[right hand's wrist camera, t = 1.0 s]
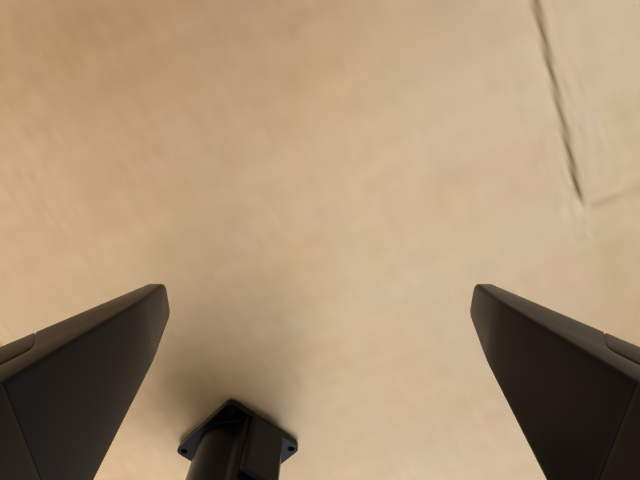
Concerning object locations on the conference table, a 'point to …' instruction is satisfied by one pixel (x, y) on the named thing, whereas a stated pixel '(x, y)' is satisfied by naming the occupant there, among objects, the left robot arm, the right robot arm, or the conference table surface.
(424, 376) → the conference table surface
